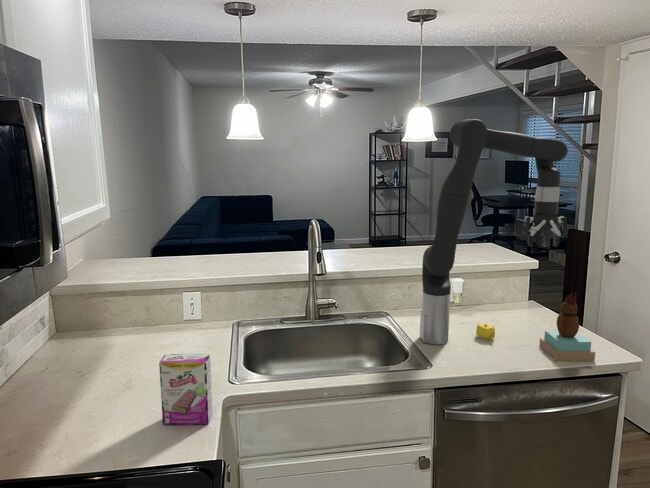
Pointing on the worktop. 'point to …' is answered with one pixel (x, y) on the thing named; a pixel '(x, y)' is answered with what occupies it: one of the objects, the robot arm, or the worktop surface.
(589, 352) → the tower base
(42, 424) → the worktop surface
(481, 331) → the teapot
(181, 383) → the candy bar box
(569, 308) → the wooden figurine
